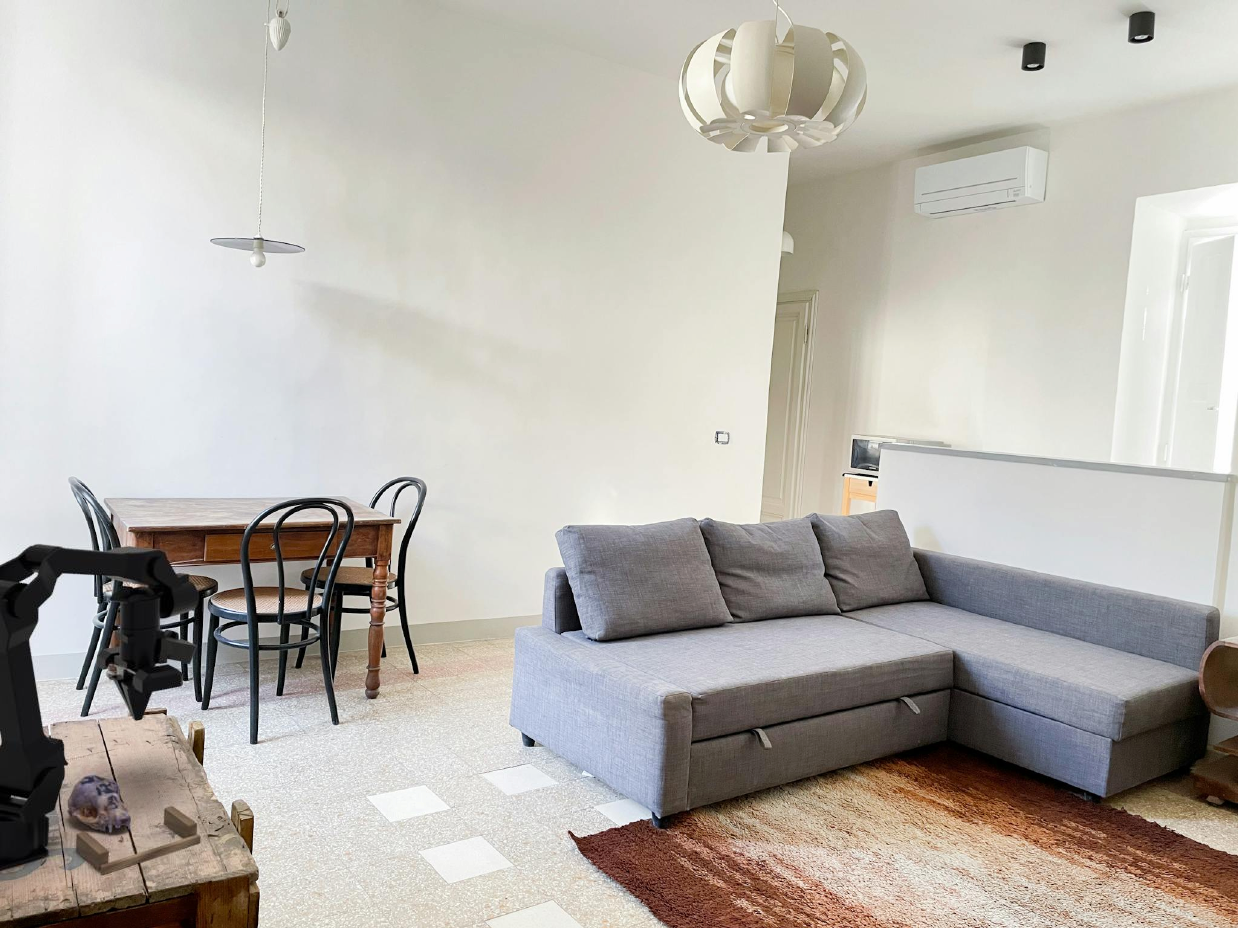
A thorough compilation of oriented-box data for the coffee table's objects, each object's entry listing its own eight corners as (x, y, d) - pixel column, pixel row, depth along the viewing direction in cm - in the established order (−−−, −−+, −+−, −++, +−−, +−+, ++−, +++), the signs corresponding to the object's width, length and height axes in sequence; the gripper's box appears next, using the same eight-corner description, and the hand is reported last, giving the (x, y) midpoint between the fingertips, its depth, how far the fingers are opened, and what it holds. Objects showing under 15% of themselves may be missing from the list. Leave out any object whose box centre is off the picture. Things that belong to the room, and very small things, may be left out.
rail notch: (102, 874, 124) (102, 856, 124) (75, 850, 130) (76, 833, 130) (200, 842, 134) (201, 825, 134) (171, 821, 140) (172, 805, 140)
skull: (143, 829, 138) (145, 789, 137) (87, 845, 132) (89, 804, 131) (113, 802, 146) (114, 765, 145) (59, 816, 140) (60, 777, 139)
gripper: (217, 629, 148) (214, 723, 149) (165, 607, 160) (163, 694, 161) (145, 640, 139) (142, 740, 140) (96, 616, 151) (94, 708, 152)
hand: (137, 719), depth 148 cm, fingers closed
